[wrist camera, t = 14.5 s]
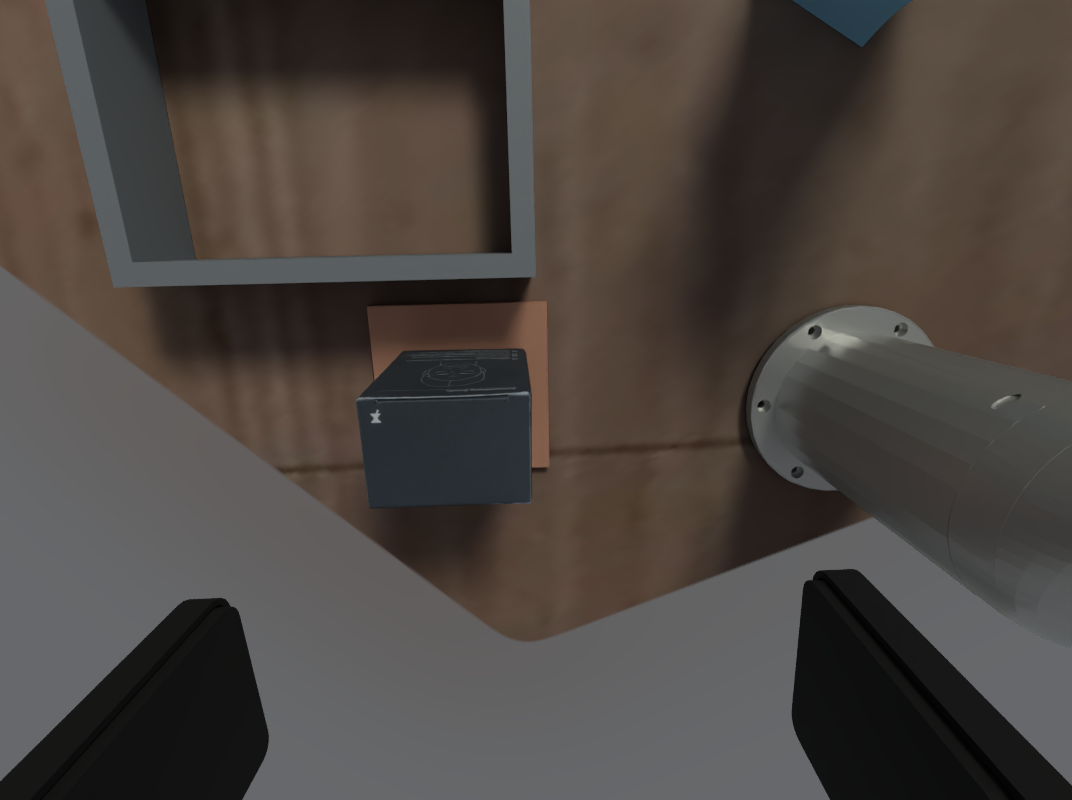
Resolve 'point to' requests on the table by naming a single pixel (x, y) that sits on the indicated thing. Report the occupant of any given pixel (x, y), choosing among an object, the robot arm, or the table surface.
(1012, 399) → the robot arm
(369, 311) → the mat
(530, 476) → the box
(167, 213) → the enclosure
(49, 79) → the table surface
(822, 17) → the vase
